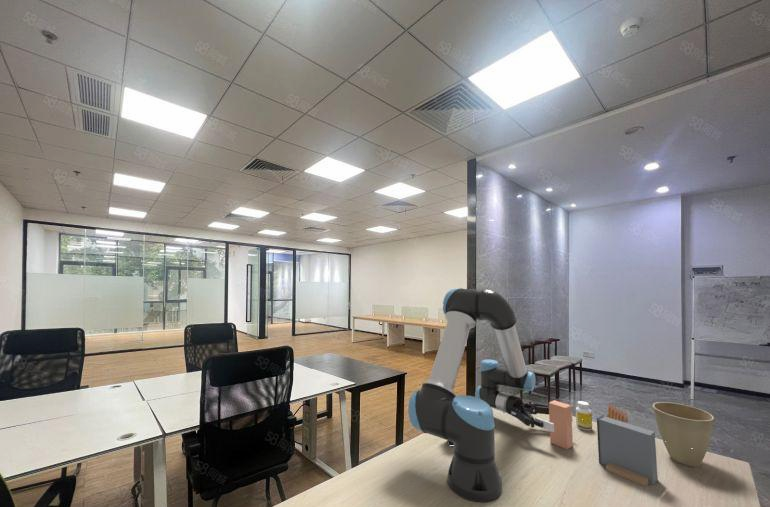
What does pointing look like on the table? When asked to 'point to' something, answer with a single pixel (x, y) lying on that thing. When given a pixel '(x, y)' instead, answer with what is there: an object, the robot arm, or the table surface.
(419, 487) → the table surface
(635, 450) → the ticket block
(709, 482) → the table surface
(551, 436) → the stub
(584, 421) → the supplement bottle
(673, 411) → the plant pot
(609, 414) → the ammunition clip
